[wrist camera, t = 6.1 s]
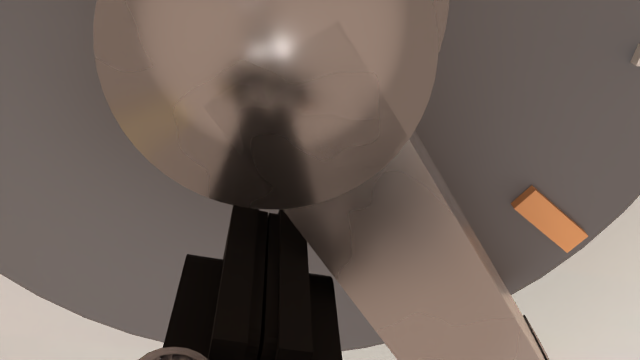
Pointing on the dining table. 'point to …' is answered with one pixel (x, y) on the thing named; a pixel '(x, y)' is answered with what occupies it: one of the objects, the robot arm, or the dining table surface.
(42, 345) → the dining table surface
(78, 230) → the dial plate
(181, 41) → the dial
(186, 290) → the robot arm
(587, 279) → the dining table surface
